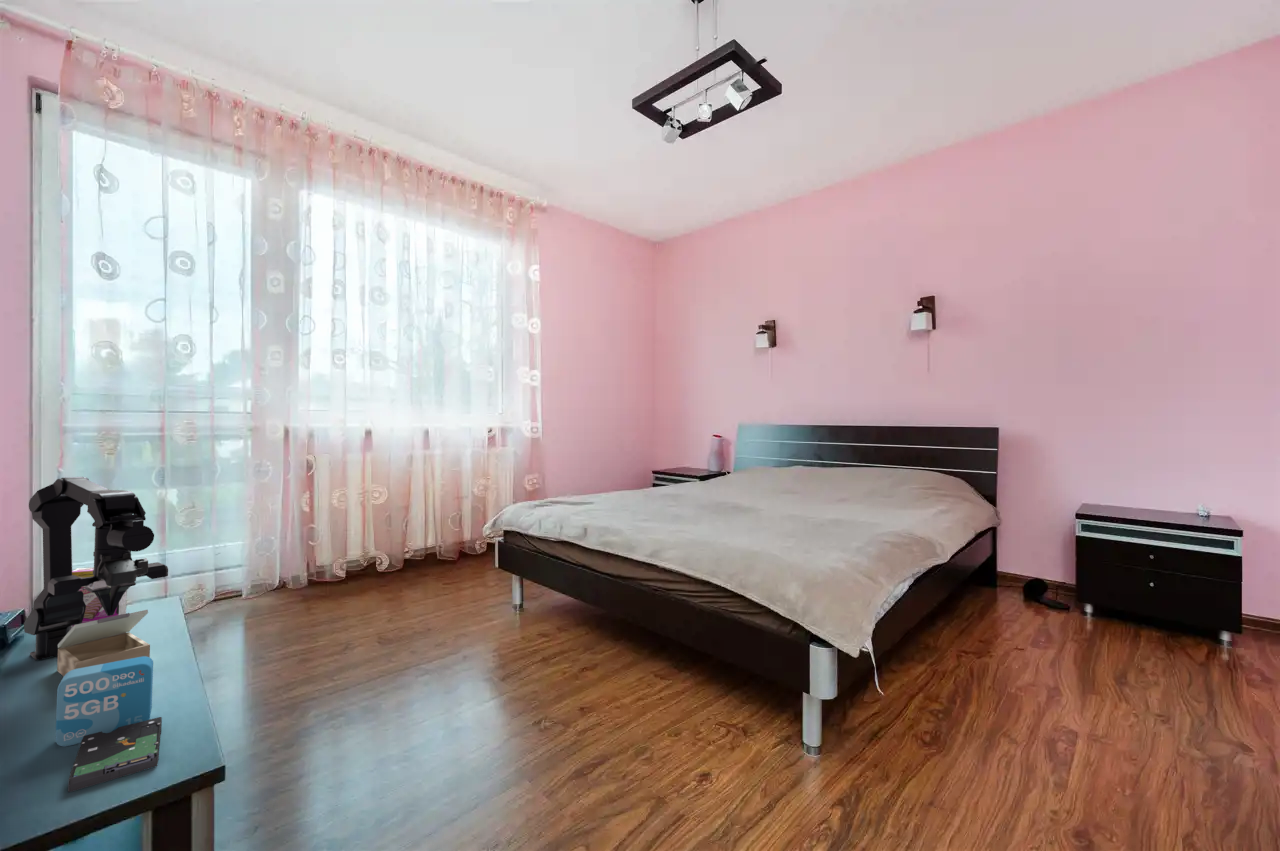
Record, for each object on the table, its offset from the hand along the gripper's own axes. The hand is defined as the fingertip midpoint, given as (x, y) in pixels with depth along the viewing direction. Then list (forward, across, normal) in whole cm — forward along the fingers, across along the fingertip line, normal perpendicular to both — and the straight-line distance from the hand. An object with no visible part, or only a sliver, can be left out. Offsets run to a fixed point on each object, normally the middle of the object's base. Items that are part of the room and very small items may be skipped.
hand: (110, 615), depth 120 cm
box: (+13, 0, +3) cm, 13 cm away
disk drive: (+14, -9, -44) cm, 47 cm away
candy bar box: (+13, +7, +39) cm, 42 cm away
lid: (+4, 0, +4) cm, 6 cm away
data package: (+13, -8, -32) cm, 35 cm away
